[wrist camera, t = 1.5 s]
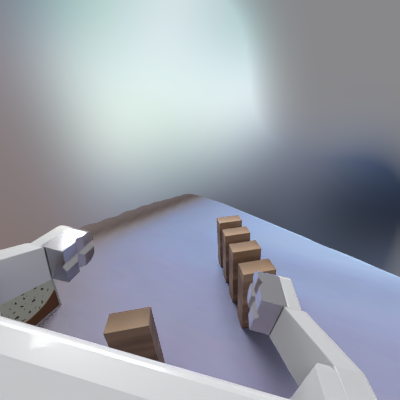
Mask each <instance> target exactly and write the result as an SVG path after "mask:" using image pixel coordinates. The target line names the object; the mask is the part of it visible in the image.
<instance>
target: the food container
mask: <svg viewBox="0 0 400 400" xmlns="http://www.w3.org/2000/svg"><path fill="white" fill-rule="evenodd" d="M60 306H61V302H60V299H59V296H58V292H57V289H56V286H55V283H54V280H53V279H52V278H51V280H49V281H47V282H45V283H43V284H41V285H39V286H37V287H35V288H33V289H31V290H29V291H27V292H25V293H23V294H22V295H20V296H18V297H16V298H14V299H12V300H10V301H8V302H6V303H4V304H2V305H0V312H1V316H2V317H5V318H9V319H12V320H16V321H19V322H23V323H26V324H30V325H33V326H38V325H39V324H40V323H41V322H42V321H44V320H45V319H46V318H47V317H48V316H49V315H50V314H52V313H53V312H54V311H55V310H56V309H57V308H58V307H60Z"/></svg>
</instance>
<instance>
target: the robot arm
mask: <svg viewBox="0 0 400 400" xmlns="http://www.w3.org/2000/svg"><path fill="white" fill-rule="evenodd" d="M92 240H93V236H92V233H90V232H87V231H84V230H80V229H75V228H71V227H67V226H63V225H62V226H58V227H57V228H55V229H53V230H52V231H50V232H48V233H47V234H45V235H43V236H42V237H40V238H39V239H37V240H35V241H34V242H32V243H31V244H28V243H26V244H22V245H18V246H14V247H11V248H7V249H3V250H0V305H2V304H4V303H6V302H8V301H10V300H12V299H14V298H16V297H18V296H20V295H22V294H23V293H25V292H27V291H29V290H31V289H33V288H35V287H37V286H39V285H41V284H43V283H45V282H47V281H49V280H51V278H52V279H56V280H61V281H65V282H70V281H71V280H72V279H73V278H74V277H75V276H76V275H77V274H78V273H79V272H80V267H82V266H85V265H87V264H88V263H89V261H90V260H91V258H92V257H93V254H94V246H93V245H92V243H91V241H92ZM247 302H248V306H249V308H250V311H249V314H248V317H249V330H253V331H256V332H259V333H263V334H266V335H270V336H269V337H270V338H271V340H272V342H273V344H274V345H275V347H276V349H277V351H278V352H279V354H280V356H281V357H282V359H283V361H284V363H285V364H286V366H287V368H288V370H289V371H290V373H291V375H292V377H293V378H294V380H295V382H296V383H297V385H298V387H299V388H298V389H297V390H296V392H295V393H294V394H293V396H292V397H291V398H290V399H287V398H283V397H280V396H276V395H273V394H269V393H266V392H262V391H259V390H256V389H252V388H249V387H245V386H242V385H238V384H235V383H231V382H228V381H224V380H221V379H217V378H214V377H210V376H207V375H203V374H200V373H197V372H193V371H190V370H186V369H183V368H179V367H176V366H172V365H169V364H165V363H162V362H158V361H155V360H151V359H148V358H145V357H141V356H138V355H134V354H131V353H127V352H124V351H120V350H117V349H113V348H110V347H106V346H103V345H99V344H96V343H92V342H89V341H85V340H82V339H78V338H75V337H71V336H68V335H64V334H61V333H58V332H54V331H51V330H47V329H44V328H40V327H37V326H33V325H30V324H26V323H23V322H19V321H16V320H12V319H9V318H5V317H2V316H1V312H0V400H377V398H376V396H375V394H374V392H373V390H372V388H371V386H370V384H369V382H368V380H367V378H366V376H365V374H364V373H363V372H362V371H361V370H360V369H359V368H358V367H357V366H356V365H355V364H354V363H353V362H352V361H351V360H350V359H349V358H348V356H347V355H346V354H345V353H344V352H343V351H342V350H341V349H340V348H339V347H338V346H337V345H336V344H335V343H334V342H333V341H332V340H331V338H330V337H329V336H328V335H327V334H326V333H325V332H324V331H323V330H322V329H321V328H320V327H319V326H318V325H317V324H316V323H315V321H314V320H313V319H312V318H311V317H310V316H309V315H308V314H307V313H306V312H304V311H302V310H301V307H300V304H299V301H298V299H297V296H296V293H295V290H294V287H293V284H292V281H291V280H290V278H286V277H281V276H276V275H272V274H267V273H263V272H258V271H255V273H254V275H253V283H251V284H250V286H249V290H248V297H247Z"/></svg>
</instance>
